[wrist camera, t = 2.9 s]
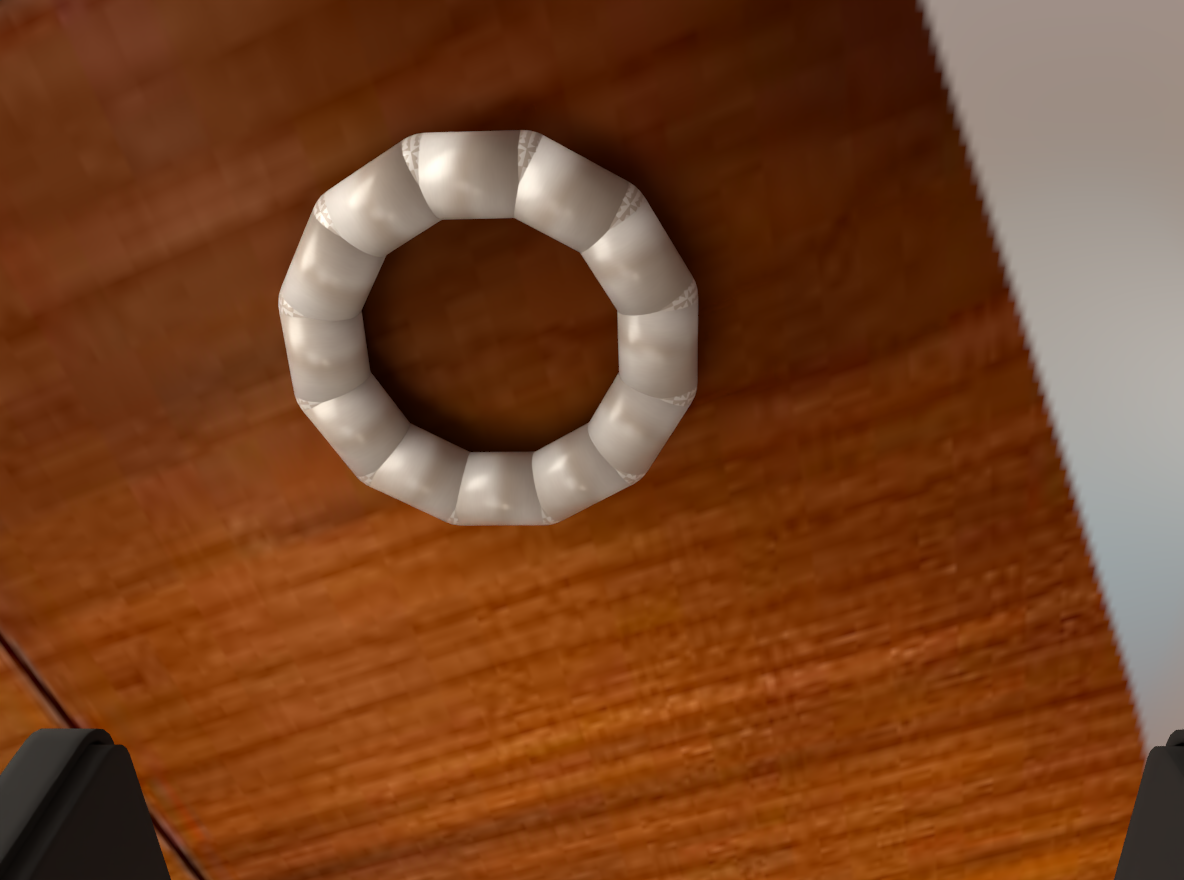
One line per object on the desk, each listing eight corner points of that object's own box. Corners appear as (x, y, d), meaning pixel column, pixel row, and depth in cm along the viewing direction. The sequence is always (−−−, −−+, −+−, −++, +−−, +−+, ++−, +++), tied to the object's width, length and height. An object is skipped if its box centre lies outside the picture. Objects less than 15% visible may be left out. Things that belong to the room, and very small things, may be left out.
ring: (698, 117, 20) (701, 134, 18) (695, 500, 24) (697, 538, 22) (264, 130, 20) (235, 147, 19) (330, 502, 24) (309, 539, 23)
